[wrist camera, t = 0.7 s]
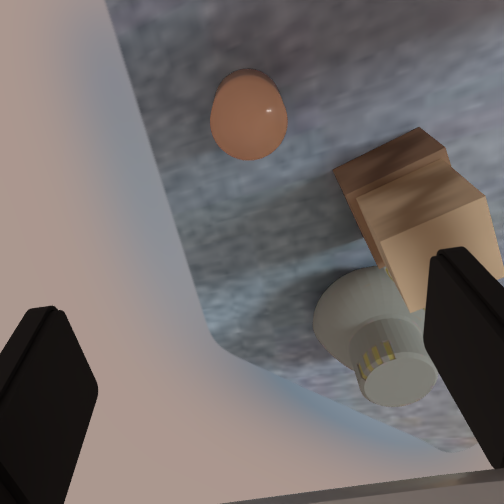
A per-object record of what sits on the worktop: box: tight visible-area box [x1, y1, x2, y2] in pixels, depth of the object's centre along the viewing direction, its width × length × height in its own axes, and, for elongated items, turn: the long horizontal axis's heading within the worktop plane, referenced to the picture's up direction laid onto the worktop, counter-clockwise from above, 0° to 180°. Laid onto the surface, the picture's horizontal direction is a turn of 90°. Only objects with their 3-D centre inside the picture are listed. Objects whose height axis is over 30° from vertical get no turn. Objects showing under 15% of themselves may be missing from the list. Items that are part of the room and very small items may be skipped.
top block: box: [356, 159, 504, 313], centre depth 28 cm, size 6×6×6 cm
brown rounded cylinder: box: [210, 69, 287, 160], centre depth 29 cm, size 5×5×5 cm
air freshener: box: [313, 266, 438, 407], centre depth 37 cm, size 11×8×10 cm
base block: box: [333, 127, 451, 269], centre depth 33 cm, size 7×7×5 cm
